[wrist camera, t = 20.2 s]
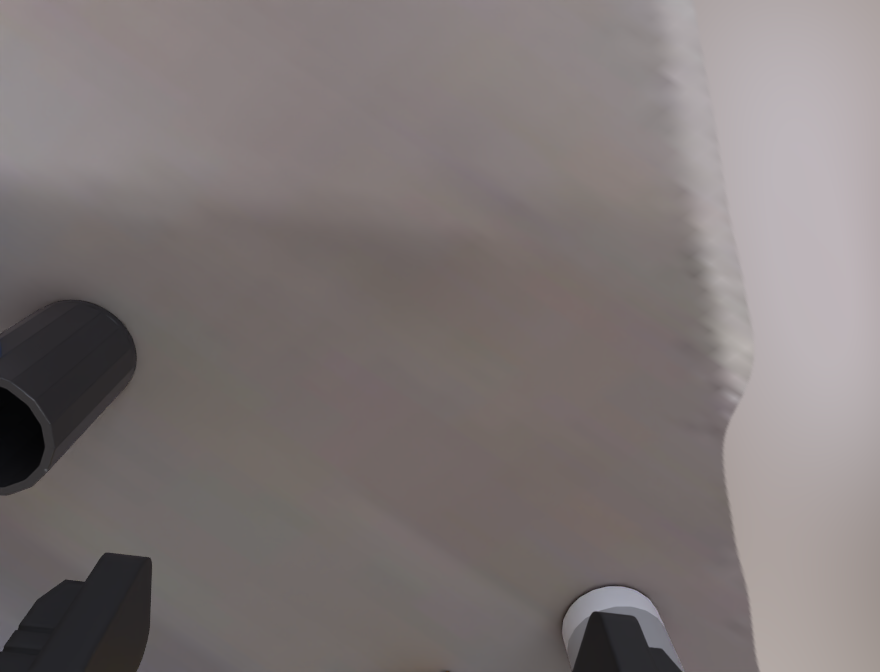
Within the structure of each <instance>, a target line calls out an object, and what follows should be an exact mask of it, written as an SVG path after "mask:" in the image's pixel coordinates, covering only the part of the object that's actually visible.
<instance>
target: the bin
mask: <svg viewBox="0 0 880 672" xmlns="http://www.w3.org/2000/svg"><path fill="white" fill-rule="evenodd" d="M135 367H136V350H135V346H134V343H133V340H132V338H131V336H130V334H129V332H128V331H127V329H126V327H125V326H124V325H123V324H122V323H121V322H120V321H119V320H118V319H117V318H116V317H115V316H114V315H113V314H111V313H110V312H108V311H107V310H105V309H103V308H102V307H99V306H97V305H95V304H92V303H89V302H84V301H78V300H64V301H58V302H55V303H51V304H49V305H47V306H45V307H44V308H41V309H39V310H37V311H35V312H34V313H32V314H30V315H29V316H27V317H26V318H24V319H23V320H21V321H19V322H18V323H16V324H15V325H13V326H11V327H10V328H8V329H7V330H5V331H3V332H2V333H0V495H10V494H13V493H16V492H19V491H22V490H25V489H27V488H30V487H32V486H33V485H34V484H36V483H37V482H38V481H39V480H40V479H41V478H42V477H43V476H44V475H45V474H46V473H47V472H48V471H49V470H50V469H51V467H52V466H53V465H54V464H55V463H56V462H57V461H58V460H59V459H60V458H61V457H62V456H63V454H64V453H65V452H66V451H67V450H68V449H69V448H70V447H71V446H72V445H73V444H74V442H75V441H76V440H77V439H78V438H79V437H80V436H81V435H82V434H83V433H84V432H85V431H86V429H87V428H88V427H89V426H90V425H91V424H92V423H93V422H94V421H95V420H96V419H97V417H98V416H99V415H100V414H101V413H102V412H103V411H104V410H105V409H106V408H107V407H108V406H109V404H110V403H111V402H112V401H113V400H114V399H115V398H116V397H117V396H118V395H119V394H120V393H121V391H122V390H123V389H124V388H125V387H126V386H127V385H128V383H129V381H130V380H131V378H132V376H133V374H134V371H135Z"/></svg>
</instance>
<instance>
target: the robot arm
mask: <svg viewBox="0 0 880 672" xmlns="http://www.w3.org/2000/svg"><path fill="white" fill-rule="evenodd" d="M151 579H152V562H151V559H150V558H149V557H141V556H132V555H124V554H115V553H105V554H104V555H103V556H102V557H101V558H100V559H99V561H98V562H97V564H96V566H95V567H94V569H93V570H92V572H91V573H90V575H89V576H88V578H87V579H86V581H85V582H82V581H73V580H64V581H63V582H61V583H60V584H59V585H57V586H56V587H54V588H53V589H52V590H50V591H49V592H47V593H46V594H45V595H43V596H42V597H41V598H39V599H38V600H37V601H36V602H35V604H34V605H33V606H32V608H31V609H30V611H29V612H28V613H27V615H26V616H25V618H24V619H23V620H22V622H21V623H20V625H19V628H18V630H15V632H14V633H13V634H12V636H11V637H10V639H9V640H8V641H7V643H6V644H5V646H4V649H3V651H2V652H0V672H136V671H137V669H138V667H139V665H140V662H141V660H142V657H143V654H144V651H145V648H146V644H147V640H148V635H149V628H150V607H151ZM572 672H682V671H681V670H680V669H679V667H678V666H677V665H676V664H675V663H674V662H673V661H672V659H671V658H670V657H669V656H668V655H667V654H666V653H665V651H664V650H663V649H662V648H653V647H649V646H648V644H647V641H646V639H645V636H644V634H643V631H642V629H641V626H640V624H639V622H638V620H637V619H636V617H635V616H632V615H625V614H616V613H608V612H599V611H594V612H592V614H591V615H590V617H589V620H588V623H587V626H586V629H585V632H584V636H583V639H582V642H581V645H580V648H579V652H578V655H577V658H576V661H575V664H574V668H573V671H572Z"/></svg>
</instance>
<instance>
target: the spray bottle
mask: <svg viewBox="0 0 880 672" xmlns="http://www.w3.org/2000/svg"><path fill="white" fill-rule="evenodd" d="M594 611H599V612H608V613H616V614H625V615H632V616H635V617H636V619H637V620H638V622H639V624H640V626H641V629H642V631H643V634H644V636H645V639H646V641H647V644H648V646H649V647H653V648H662V649H663V650H664V651H665V653H666V654H667V655H668V656H669V657H670V658H671V659H672V661H673V662H674V663H675V664H676V665H677V666H678V667H679V669H680V670H681V671H682V672H685V671H684V669H683V667H682V664H681V662H680V660H679V658H678V656H677V653H676V651H675V649H674V647H673V644H672V642H671V640H670V638H669V636H668V633H667V631H666V629H665V627H664V624H663V622H662V620H661V618H660V616H659V613H658V611H657V609H656V608H655V606H654V605H653V603H652V602H651V601H650V599H649V598H647V597H646V596H644V595H643V594H641V593H640V592H638V591H636V590H634V589H630V588H627V587H623V586H607V587H603V588H599V589H595V590H592V591H590V592H588V593H587V594H585V595H583V596H581V597H579V598H578V599H577V600H576V601H575V602H574V603H573V604H572V605H571V606H570V608H569V609H568V611H567V613H566V615H565V617H564V620H563V627H562V636H563V640H564V643H565V647H566V651H567V655H568V659H569V663H570V666H571V670H572V671H573V668H574V664H575V661H576V658H577V655H578V652H579V648H580V645H581V642H582V639H583V636H584V632H585V629H586V626H587V623H588V620H589V617H590V615H591V614H592V612H594Z"/></svg>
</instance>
